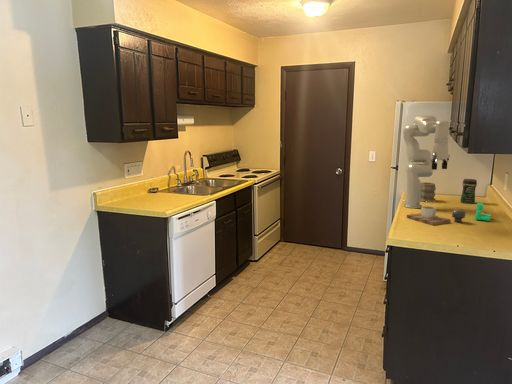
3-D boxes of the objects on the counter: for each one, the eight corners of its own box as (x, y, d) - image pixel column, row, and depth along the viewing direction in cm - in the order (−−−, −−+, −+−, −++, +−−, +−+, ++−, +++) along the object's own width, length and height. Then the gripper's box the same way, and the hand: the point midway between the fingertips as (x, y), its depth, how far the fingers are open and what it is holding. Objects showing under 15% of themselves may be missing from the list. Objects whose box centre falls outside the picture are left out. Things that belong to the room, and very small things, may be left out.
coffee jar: (461, 203, 281) (463, 179, 278) (459, 201, 288) (462, 177, 285) (475, 204, 277) (478, 180, 274) (474, 202, 284) (476, 178, 281)
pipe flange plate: (406, 217, 236) (407, 205, 235) (423, 215, 242) (424, 203, 240) (432, 225, 218) (433, 212, 217) (450, 222, 224) (451, 210, 222)
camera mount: (489, 222, 225) (491, 206, 223) (475, 220, 229) (476, 204, 228) (490, 218, 235) (492, 202, 233) (476, 216, 239) (478, 201, 237)
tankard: (434, 199, 295) (436, 181, 292) (435, 202, 283) (437, 183, 280) (407, 198, 302) (409, 180, 299) (407, 200, 291) (409, 182, 288)
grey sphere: (448, 221, 228) (449, 210, 227) (456, 219, 231) (457, 209, 229) (458, 223, 222) (459, 212, 220) (467, 222, 224) (468, 211, 223)
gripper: (444, 141, 232) (442, 168, 235) (426, 141, 224) (424, 169, 227) (455, 141, 226) (453, 169, 228) (437, 141, 218) (435, 170, 220)
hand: (439, 169), depth 227 cm, fingers open, 9 cm apart
